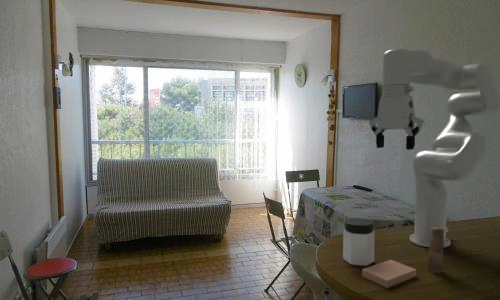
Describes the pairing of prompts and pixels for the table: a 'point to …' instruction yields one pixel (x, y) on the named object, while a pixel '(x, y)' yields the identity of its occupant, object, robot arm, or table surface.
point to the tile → (389, 273)
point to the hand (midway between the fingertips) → (394, 148)
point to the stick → (436, 249)
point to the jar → (358, 241)
